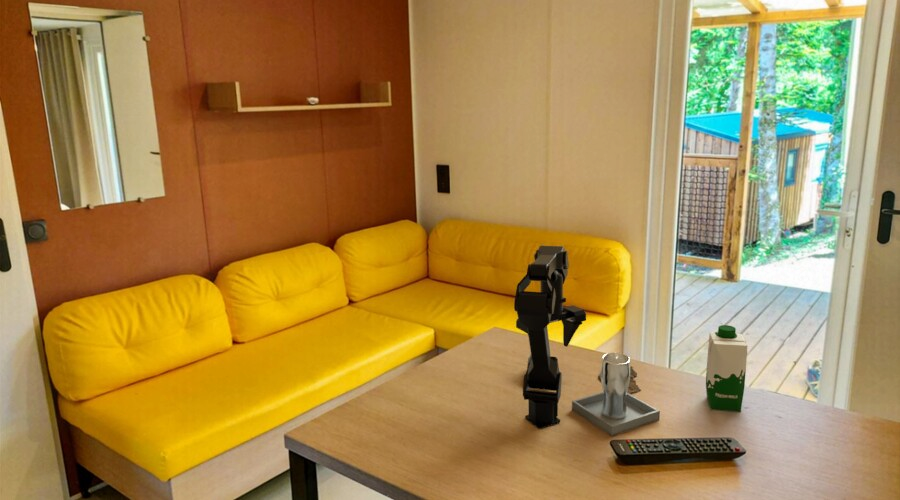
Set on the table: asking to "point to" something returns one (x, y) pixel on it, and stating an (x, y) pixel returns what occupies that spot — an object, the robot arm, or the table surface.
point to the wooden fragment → (631, 382)
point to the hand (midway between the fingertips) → (551, 349)
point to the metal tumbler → (615, 384)
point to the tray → (635, 418)
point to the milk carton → (726, 369)
